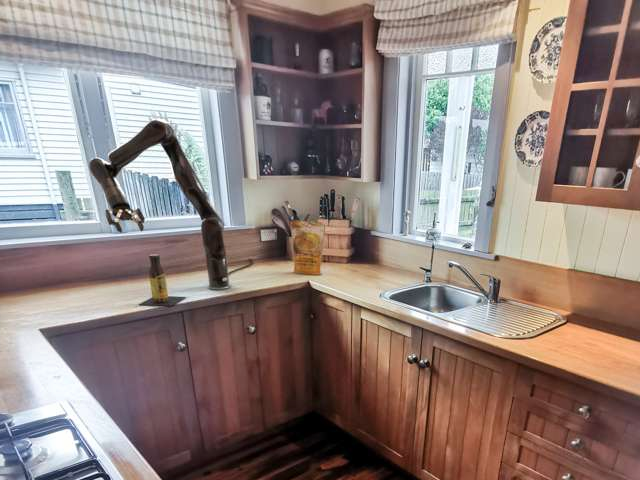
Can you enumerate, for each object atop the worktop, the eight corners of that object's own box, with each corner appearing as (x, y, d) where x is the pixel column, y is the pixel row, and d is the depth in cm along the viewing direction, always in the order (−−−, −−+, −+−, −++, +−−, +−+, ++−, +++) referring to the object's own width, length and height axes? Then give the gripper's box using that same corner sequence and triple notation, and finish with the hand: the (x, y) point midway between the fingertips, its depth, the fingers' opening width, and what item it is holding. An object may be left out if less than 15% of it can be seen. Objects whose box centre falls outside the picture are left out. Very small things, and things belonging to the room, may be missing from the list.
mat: (155, 296, 210) (155, 295, 210) (185, 297, 209) (185, 297, 209) (139, 305, 197) (139, 304, 197) (171, 306, 197) (171, 305, 197)
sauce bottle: (163, 303, 199) (155, 256, 191) (150, 302, 200) (141, 255, 192) (172, 299, 205) (165, 254, 196) (159, 298, 206) (151, 253, 198)
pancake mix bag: (294, 270, 266) (292, 219, 254) (326, 273, 261) (325, 221, 250) (289, 273, 260) (287, 220, 248) (321, 276, 256) (320, 223, 244)
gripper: (99, 194, 193) (114, 226, 190) (135, 193, 202) (150, 223, 199) (98, 206, 198) (112, 237, 196) (133, 205, 207) (147, 235, 205)
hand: (131, 230), depth 197 cm, fingers open, 8 cm apart
